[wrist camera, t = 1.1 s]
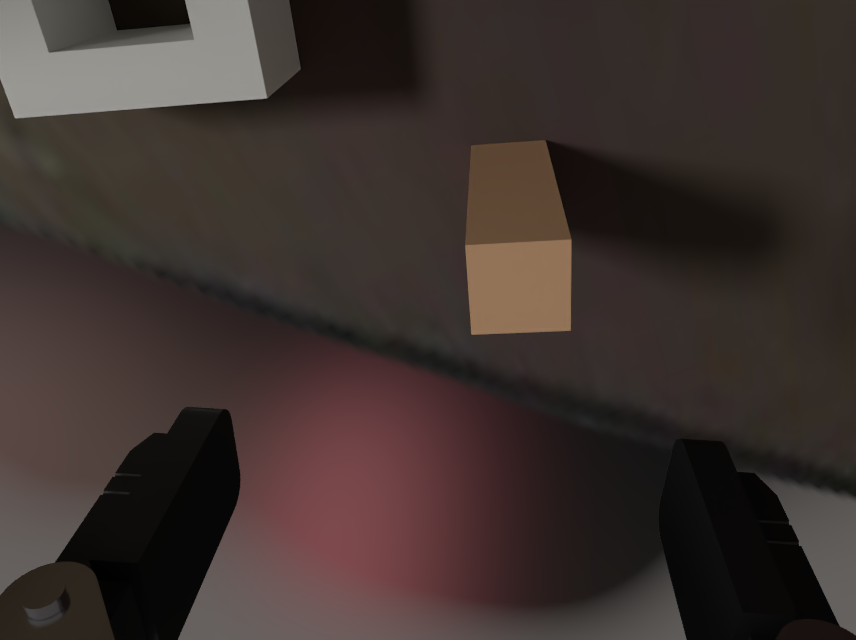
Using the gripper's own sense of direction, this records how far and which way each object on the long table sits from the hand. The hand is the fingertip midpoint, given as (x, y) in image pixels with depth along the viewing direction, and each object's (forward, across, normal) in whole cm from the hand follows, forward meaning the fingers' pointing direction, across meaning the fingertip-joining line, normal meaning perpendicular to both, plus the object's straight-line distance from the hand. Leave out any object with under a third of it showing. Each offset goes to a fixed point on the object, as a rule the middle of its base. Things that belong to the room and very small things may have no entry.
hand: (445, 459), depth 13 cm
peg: (+19, -2, +1) cm, 19 cm away
